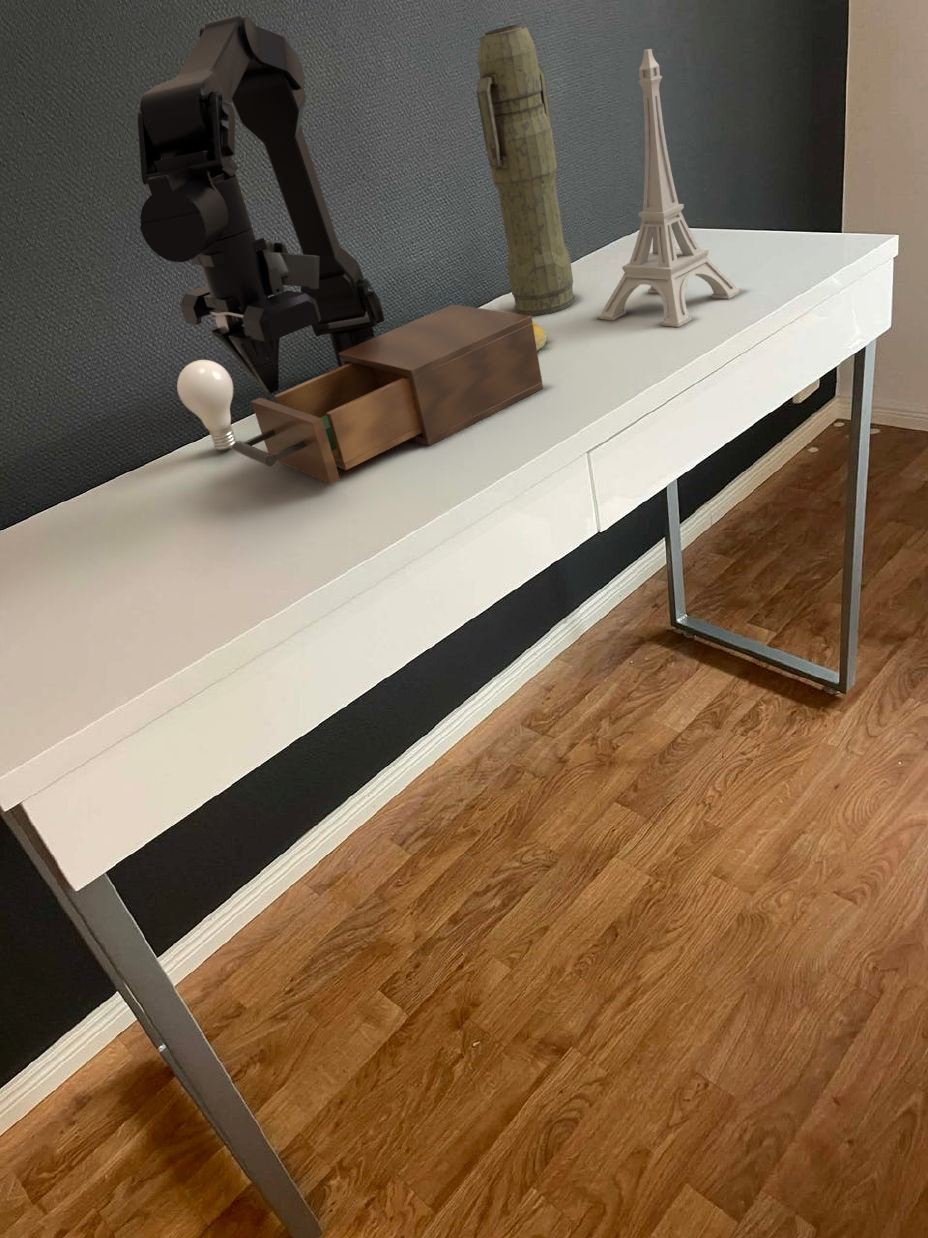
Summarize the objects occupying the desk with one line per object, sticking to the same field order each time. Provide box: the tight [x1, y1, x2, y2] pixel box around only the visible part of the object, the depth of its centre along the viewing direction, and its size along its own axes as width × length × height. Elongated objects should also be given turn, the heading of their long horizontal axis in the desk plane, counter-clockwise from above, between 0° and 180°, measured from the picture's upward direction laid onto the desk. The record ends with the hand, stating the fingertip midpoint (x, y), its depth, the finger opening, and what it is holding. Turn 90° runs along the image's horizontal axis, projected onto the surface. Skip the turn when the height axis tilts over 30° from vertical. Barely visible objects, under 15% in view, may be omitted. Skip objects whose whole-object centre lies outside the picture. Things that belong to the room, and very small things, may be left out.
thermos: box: [476, 23, 576, 316], centre depth 130 cm, size 9×12×35 cm
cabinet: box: [339, 303, 544, 447], centre depth 111 cm, size 17×15×9 cm
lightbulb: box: [176, 359, 238, 452], centre depth 114 cm, size 6×6×11 cm
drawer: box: [232, 362, 422, 485], centre depth 105 cm, size 21×13×7 cm, turn 129°
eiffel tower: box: [597, 48, 742, 328], centre depth 120 cm, size 13×13×30 cm
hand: (272, 391), depth 99 cm, fingers closed
